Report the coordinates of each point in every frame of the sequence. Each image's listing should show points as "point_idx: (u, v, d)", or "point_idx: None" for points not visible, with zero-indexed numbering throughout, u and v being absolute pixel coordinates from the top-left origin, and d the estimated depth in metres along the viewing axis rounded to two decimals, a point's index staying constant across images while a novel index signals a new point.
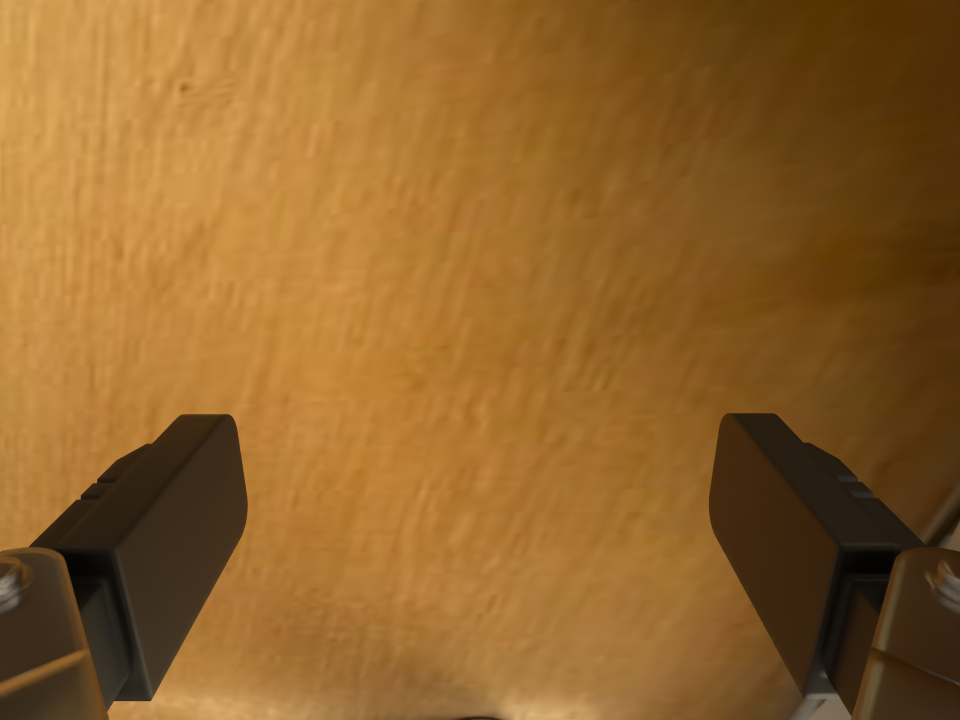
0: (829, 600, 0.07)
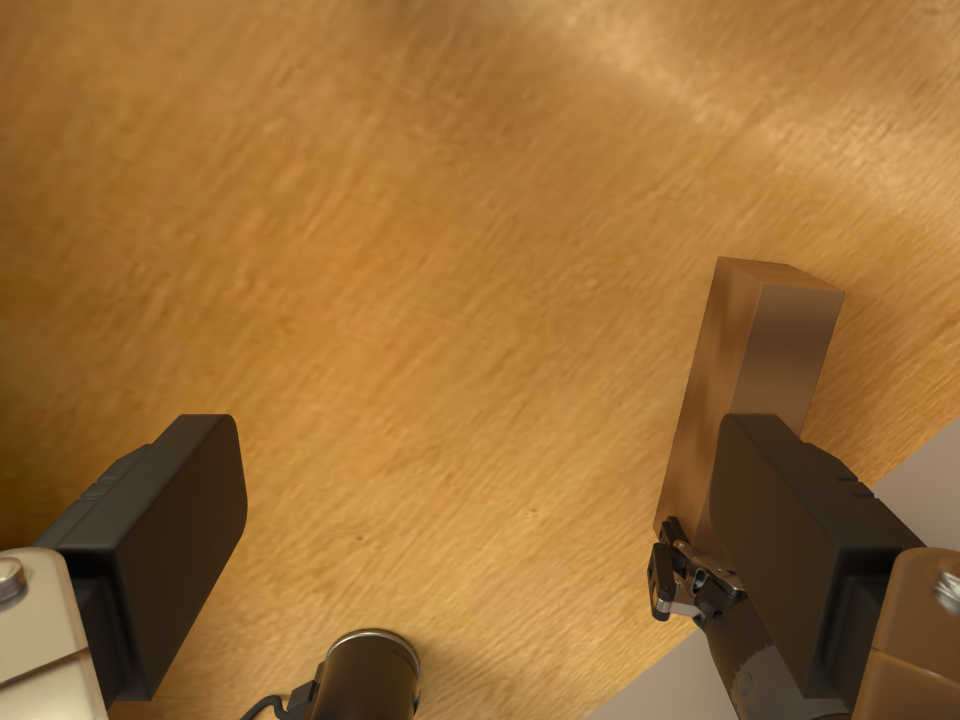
0: (829, 600, 0.07)
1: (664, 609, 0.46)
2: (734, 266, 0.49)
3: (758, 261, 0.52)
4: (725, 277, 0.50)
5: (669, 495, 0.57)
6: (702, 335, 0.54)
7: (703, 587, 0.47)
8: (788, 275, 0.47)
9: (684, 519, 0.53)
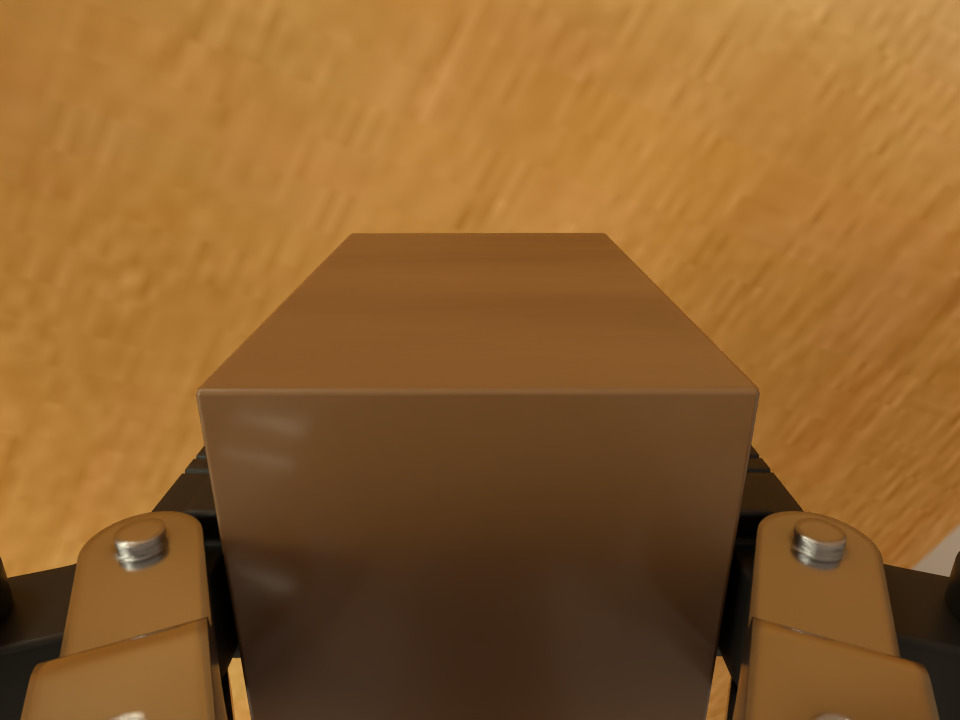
0: None
1: None
2: None
3: (493, 234, 0.14)
4: None
5: None
6: None
7: None
8: (518, 289, 0.10)
9: None
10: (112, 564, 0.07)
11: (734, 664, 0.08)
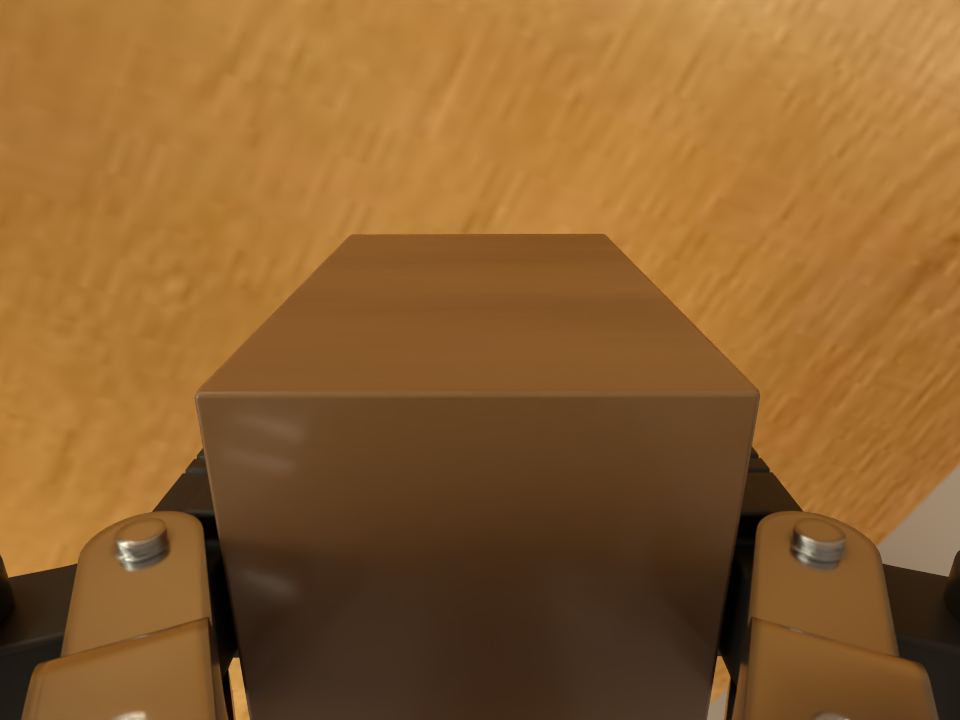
0: None
1: None
2: (316, 272, 0.11)
3: (493, 235, 0.14)
4: None
5: None
6: None
7: None
8: (518, 291, 0.10)
9: None
10: (113, 564, 0.07)
11: (732, 663, 0.08)
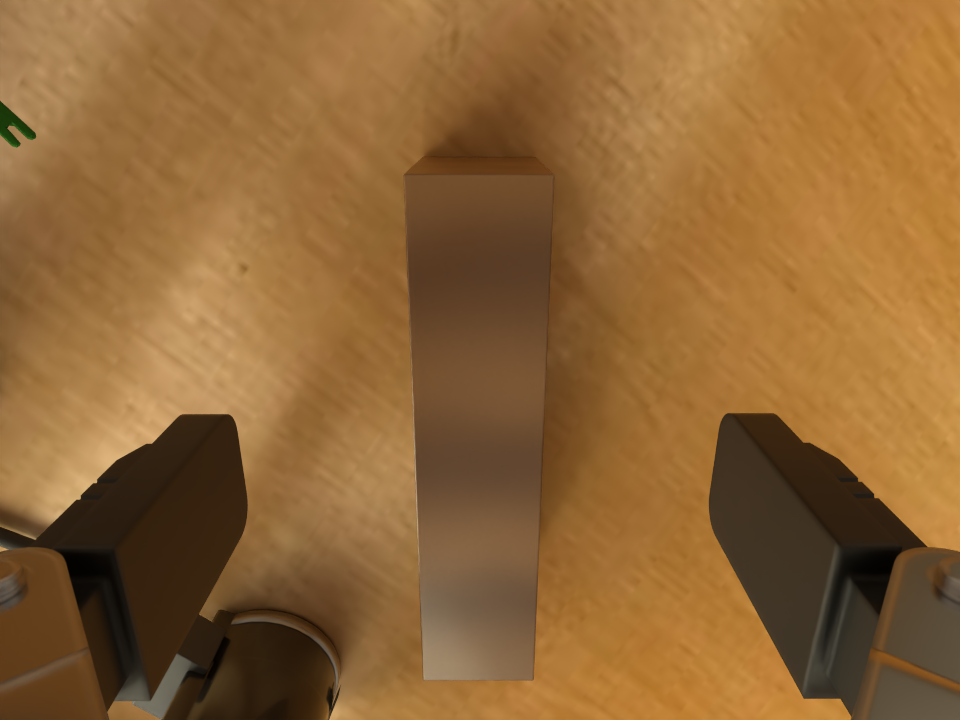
0: (829, 600, 0.07)
1: None
2: (416, 163, 0.30)
3: (485, 157, 0.33)
4: None
5: None
6: None
7: None
8: (493, 165, 0.28)
9: None
10: None
11: None
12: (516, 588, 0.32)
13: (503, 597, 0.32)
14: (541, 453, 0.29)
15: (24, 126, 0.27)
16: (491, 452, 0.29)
